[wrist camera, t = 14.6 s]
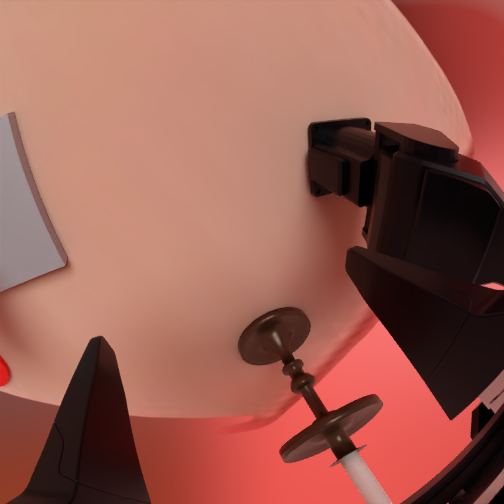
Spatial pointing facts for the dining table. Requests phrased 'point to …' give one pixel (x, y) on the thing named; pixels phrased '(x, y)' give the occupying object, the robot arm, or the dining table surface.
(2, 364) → the tow hook
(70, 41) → the dining table surface
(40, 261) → the board
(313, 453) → the candlestick
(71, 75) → the dining table surface
